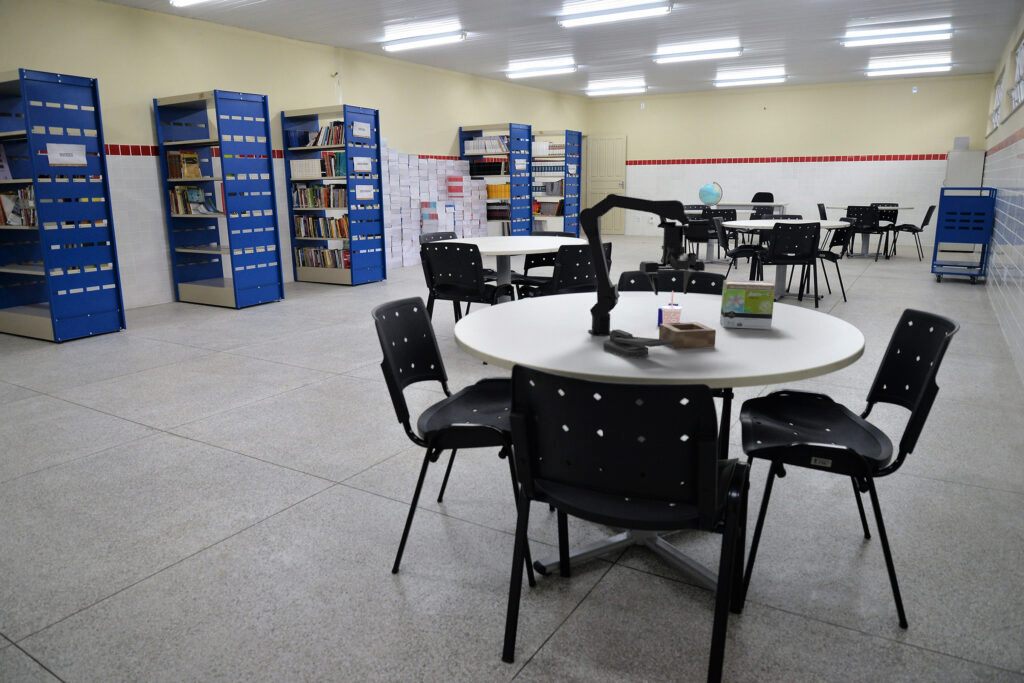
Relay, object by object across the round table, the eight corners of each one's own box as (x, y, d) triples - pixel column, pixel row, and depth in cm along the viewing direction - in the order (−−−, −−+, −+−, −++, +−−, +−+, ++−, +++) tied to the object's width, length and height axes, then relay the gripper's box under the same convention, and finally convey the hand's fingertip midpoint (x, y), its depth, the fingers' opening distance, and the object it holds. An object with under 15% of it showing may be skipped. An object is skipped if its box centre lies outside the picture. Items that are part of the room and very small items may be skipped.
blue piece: (664, 319, 235) (665, 302, 234) (677, 321, 233) (678, 303, 232) (653, 326, 225) (653, 308, 224) (666, 327, 223) (667, 309, 222)
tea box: (723, 328, 220) (726, 283, 217) (719, 322, 230) (722, 279, 226) (771, 330, 217) (775, 284, 214) (766, 323, 227) (769, 280, 224)
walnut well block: (658, 340, 204) (659, 323, 203) (695, 338, 207) (696, 322, 205) (675, 349, 193) (676, 332, 192) (714, 347, 195) (715, 330, 194)
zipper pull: (649, 343, 172) (599, 325, 194) (648, 368, 173) (598, 347, 196) (678, 340, 175) (626, 322, 198) (677, 365, 177) (625, 344, 199)
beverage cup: (661, 337, 208) (663, 292, 204) (659, 333, 214) (661, 289, 210) (681, 338, 207) (683, 292, 204) (679, 333, 213) (681, 289, 210)
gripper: (653, 245, 193) (651, 300, 196) (714, 244, 196) (711, 297, 199) (639, 242, 203) (637, 294, 207) (698, 241, 206) (695, 291, 210)
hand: (670, 294), depth 206 cm, fingers open, 9 cm apart
